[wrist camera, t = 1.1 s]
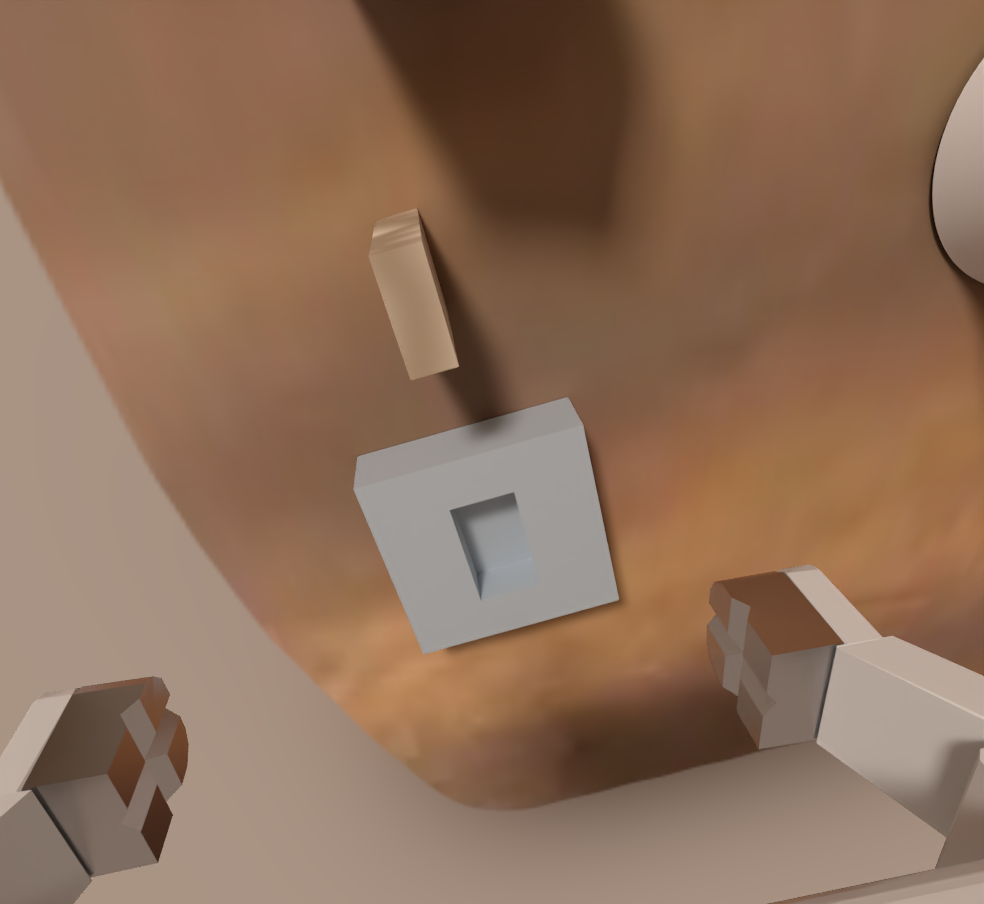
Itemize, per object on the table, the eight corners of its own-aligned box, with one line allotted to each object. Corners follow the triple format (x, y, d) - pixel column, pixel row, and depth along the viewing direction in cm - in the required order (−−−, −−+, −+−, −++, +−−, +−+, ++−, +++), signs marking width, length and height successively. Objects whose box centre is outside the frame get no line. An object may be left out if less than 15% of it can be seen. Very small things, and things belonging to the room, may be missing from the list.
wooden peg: (417, 208, 31) (421, 241, 24) (447, 309, 33) (459, 366, 26) (376, 220, 31) (368, 256, 24) (408, 320, 33) (410, 380, 26)
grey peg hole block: (567, 397, 36) (582, 424, 33) (603, 563, 42) (619, 600, 39) (357, 456, 36) (353, 489, 33) (421, 613, 42) (423, 654, 39)
